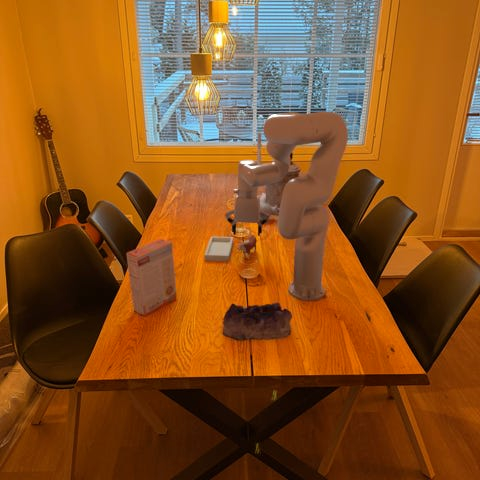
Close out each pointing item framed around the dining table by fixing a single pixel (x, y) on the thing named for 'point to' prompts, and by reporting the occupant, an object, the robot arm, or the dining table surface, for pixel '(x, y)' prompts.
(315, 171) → the robot arm
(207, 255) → the tray
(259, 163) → the candlestick
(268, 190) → the cookie jar
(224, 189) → the dining table surface
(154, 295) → the cracker box
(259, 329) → the geode
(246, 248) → the bull figurine
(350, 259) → the dining table surface
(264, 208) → the chubby cartoon animal
